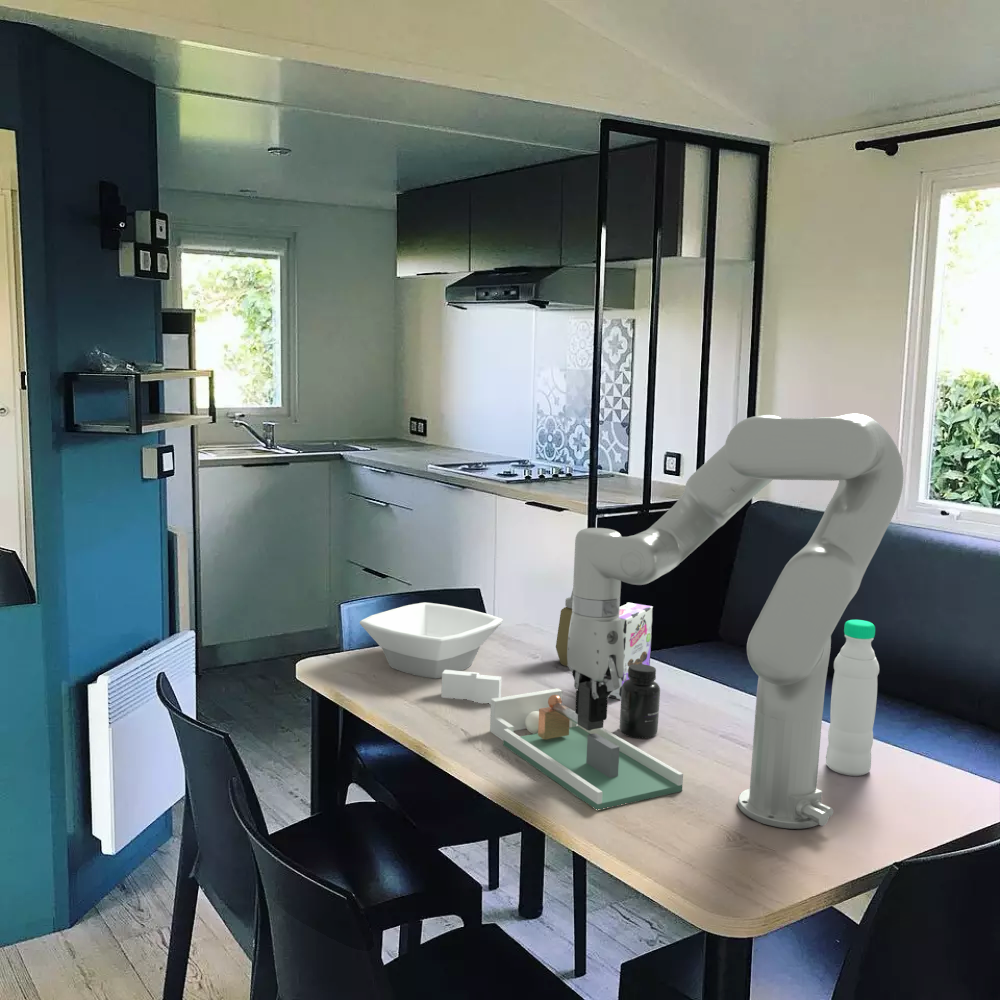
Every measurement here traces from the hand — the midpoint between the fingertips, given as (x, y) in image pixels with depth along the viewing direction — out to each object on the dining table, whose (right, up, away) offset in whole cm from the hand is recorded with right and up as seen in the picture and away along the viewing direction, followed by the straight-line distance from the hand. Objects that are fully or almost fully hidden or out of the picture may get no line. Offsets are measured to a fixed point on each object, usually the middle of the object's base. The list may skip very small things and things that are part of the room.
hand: (590, 715), depth 166 cm
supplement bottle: (+10, -7, +17) cm, 21 cm away
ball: (-8, -4, +15) cm, 18 cm away
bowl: (-29, -1, +52) cm, 60 cm away
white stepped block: (-20, -4, +32) cm, 38 cm away
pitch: (-2, -8, +4) cm, 9 cm away
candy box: (+10, -3, +41) cm, 43 cm away
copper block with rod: (-3, -6, +5) cm, 9 cm away
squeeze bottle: (+1, -1, +57) cm, 57 cm away
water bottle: (+43, -10, +4) cm, 44 cm away
